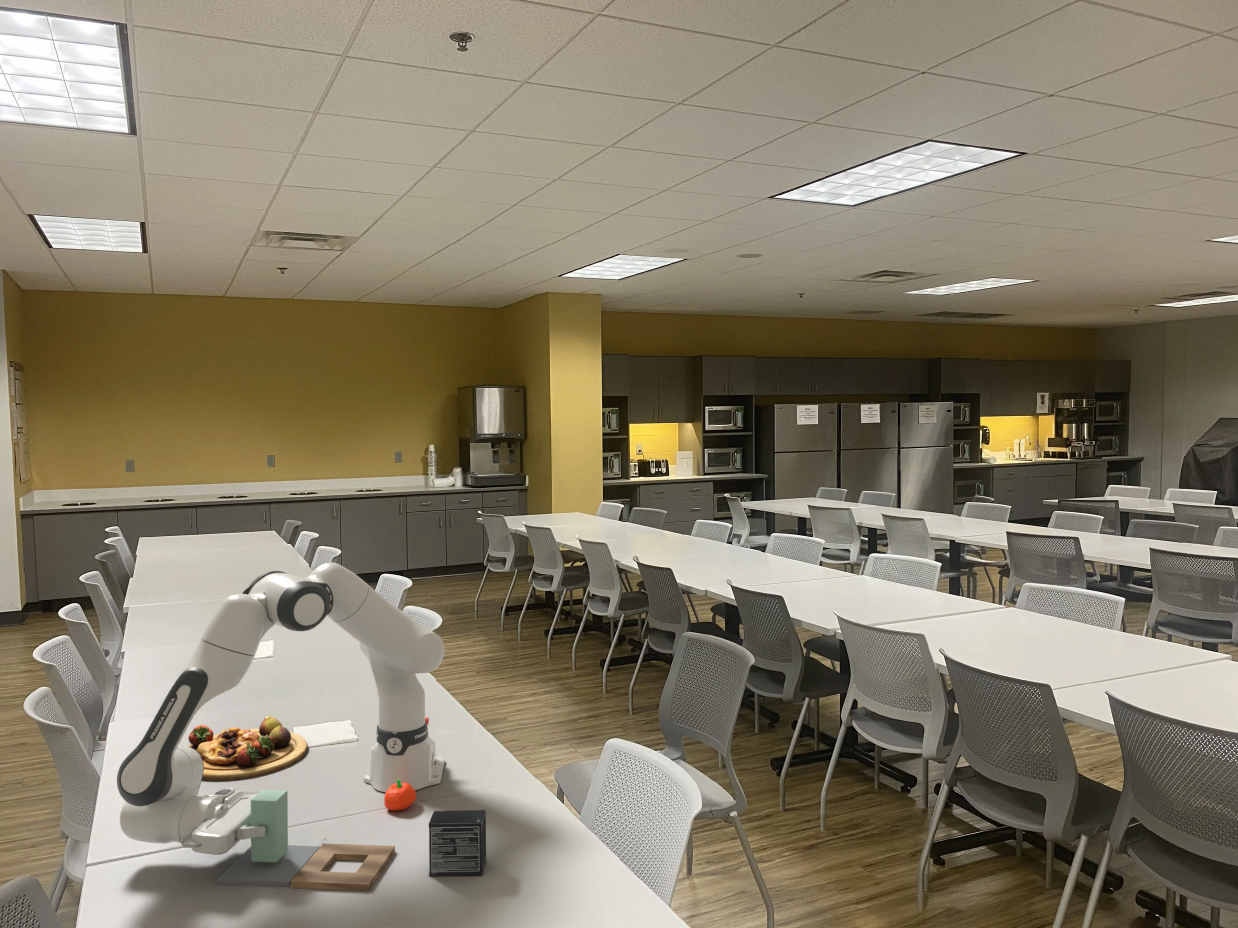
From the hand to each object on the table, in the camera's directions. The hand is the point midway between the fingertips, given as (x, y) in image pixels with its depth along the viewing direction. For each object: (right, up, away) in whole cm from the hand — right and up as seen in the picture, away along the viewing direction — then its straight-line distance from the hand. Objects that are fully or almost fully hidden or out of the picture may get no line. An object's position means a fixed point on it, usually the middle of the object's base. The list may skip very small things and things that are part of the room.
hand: (273, 822), depth 170 cm
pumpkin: (+18, -8, +27) cm, 34 cm away
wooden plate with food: (-31, -7, +58) cm, 66 cm away
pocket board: (+14, -9, -1) cm, 17 cm away
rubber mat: (-1, -9, 0) cm, 9 cm away
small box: (+36, -9, 0) cm, 37 cm away
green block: (-1, -6, 0) cm, 7 cm away
